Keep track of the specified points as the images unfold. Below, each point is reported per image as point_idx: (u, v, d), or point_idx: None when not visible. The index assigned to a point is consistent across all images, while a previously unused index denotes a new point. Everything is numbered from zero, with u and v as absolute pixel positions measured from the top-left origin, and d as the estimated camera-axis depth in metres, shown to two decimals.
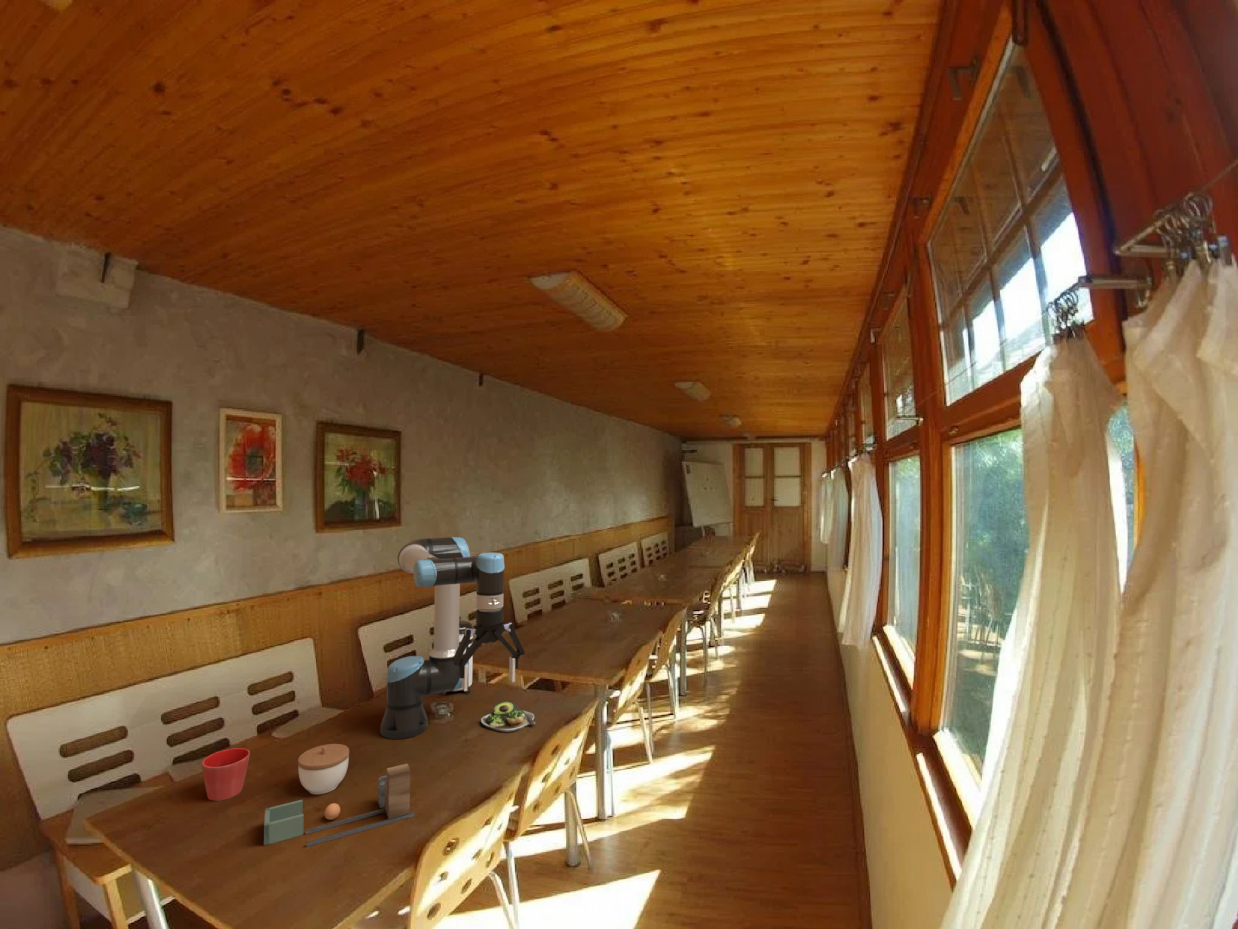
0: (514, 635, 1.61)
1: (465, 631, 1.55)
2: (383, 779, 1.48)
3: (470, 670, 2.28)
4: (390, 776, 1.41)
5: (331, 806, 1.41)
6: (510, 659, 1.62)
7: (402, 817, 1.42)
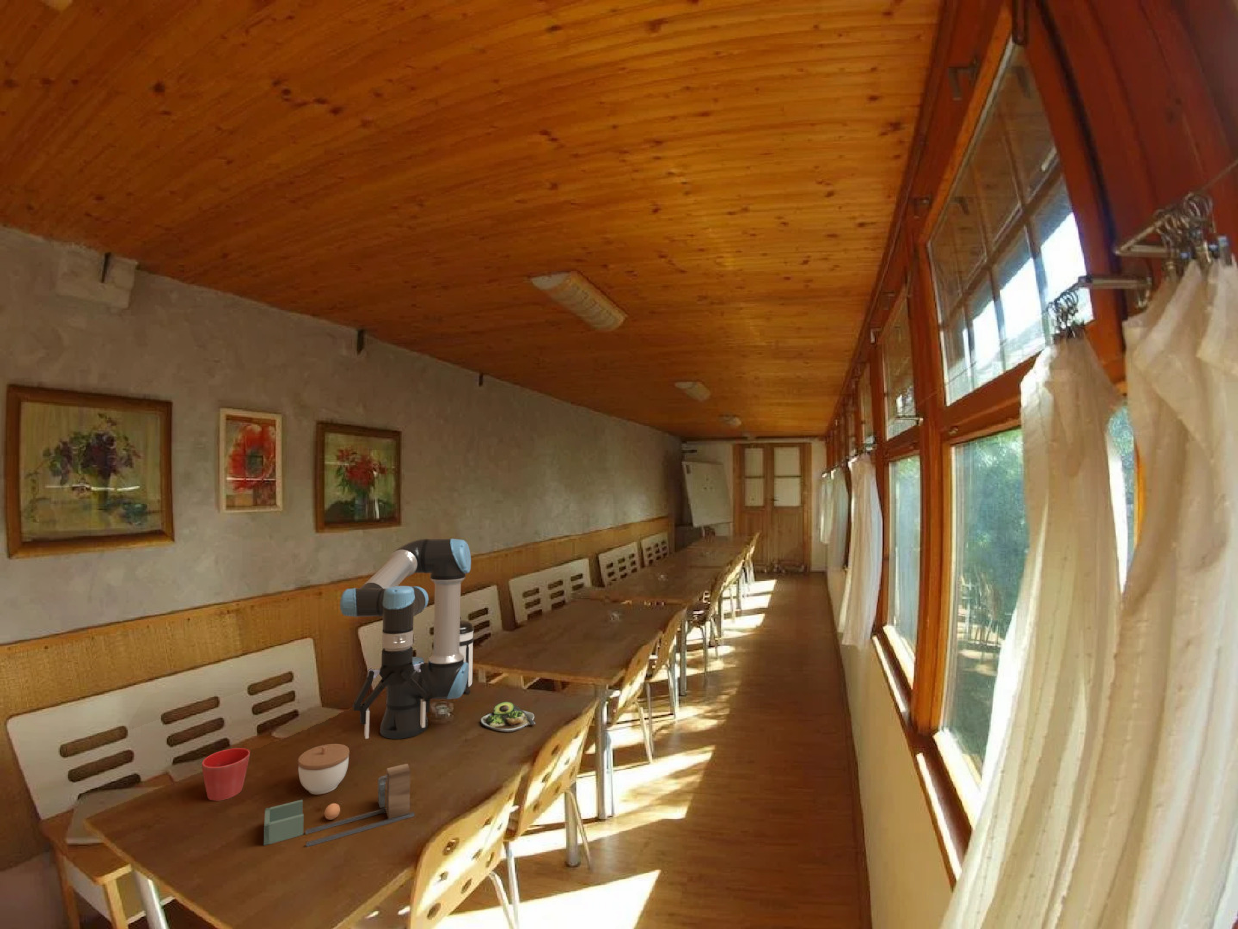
0: (425, 676, 1.49)
1: (368, 672, 1.43)
2: (383, 779, 1.48)
3: (470, 670, 2.28)
4: (390, 776, 1.41)
5: (331, 806, 1.41)
6: (421, 702, 1.50)
7: (402, 817, 1.42)
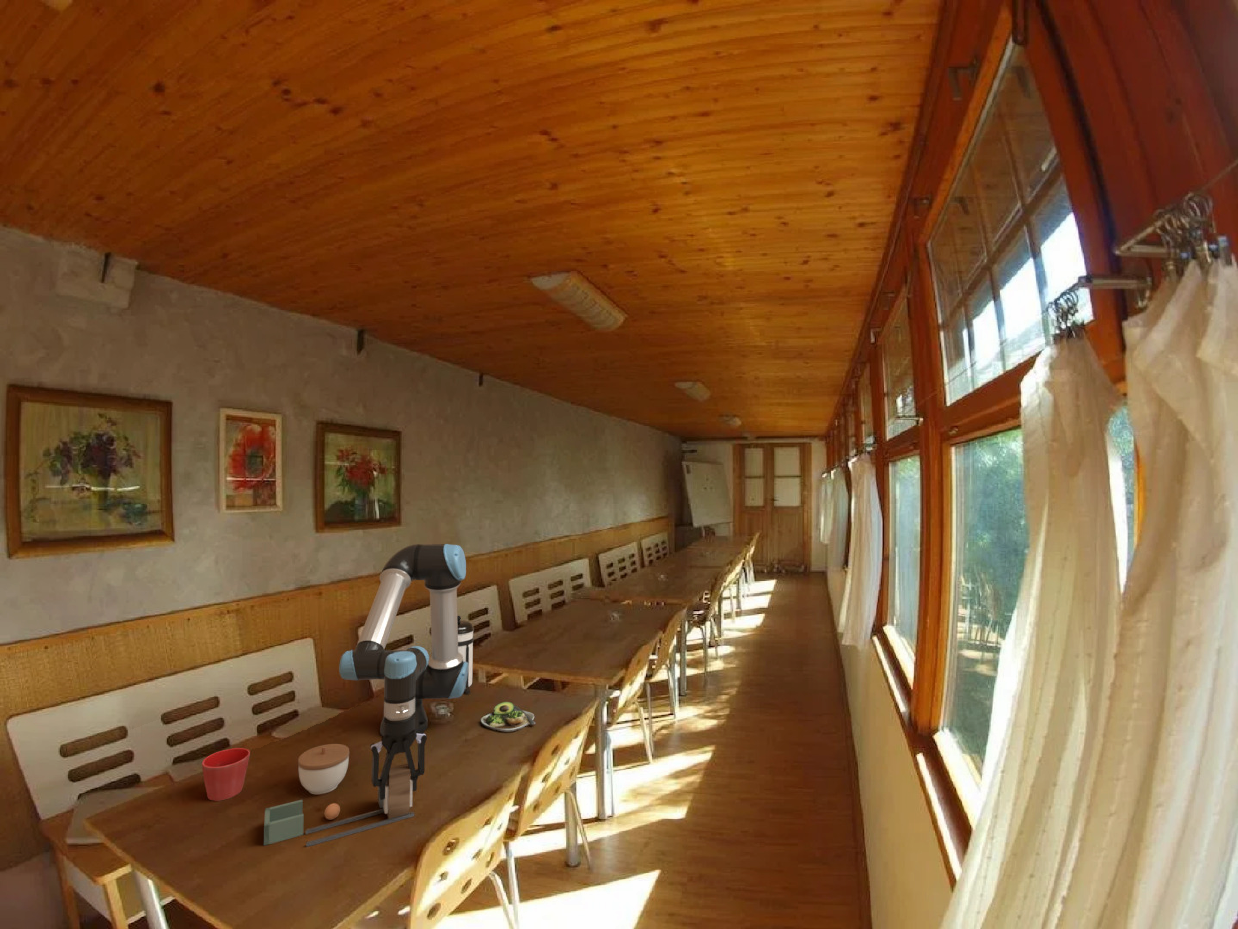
0: (422, 749, 1.46)
1: (371, 749, 1.41)
2: None
3: (470, 670, 2.28)
4: (390, 776, 1.41)
5: (331, 806, 1.41)
6: None
7: (402, 817, 1.42)
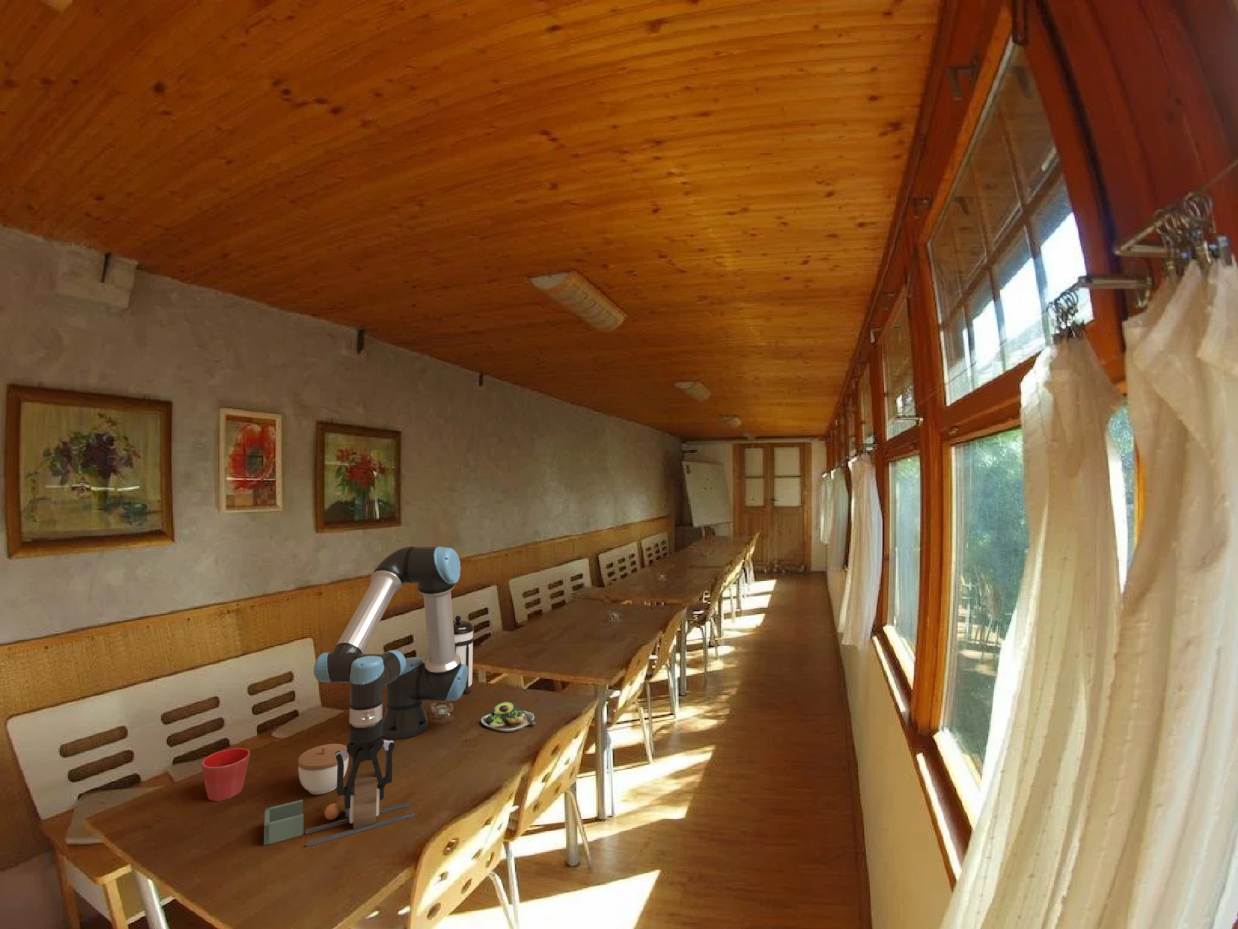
0: (389, 757, 1.42)
1: None
2: None
3: (470, 670, 2.28)
4: (355, 785, 1.37)
5: (331, 806, 1.41)
6: None
7: (402, 817, 1.42)
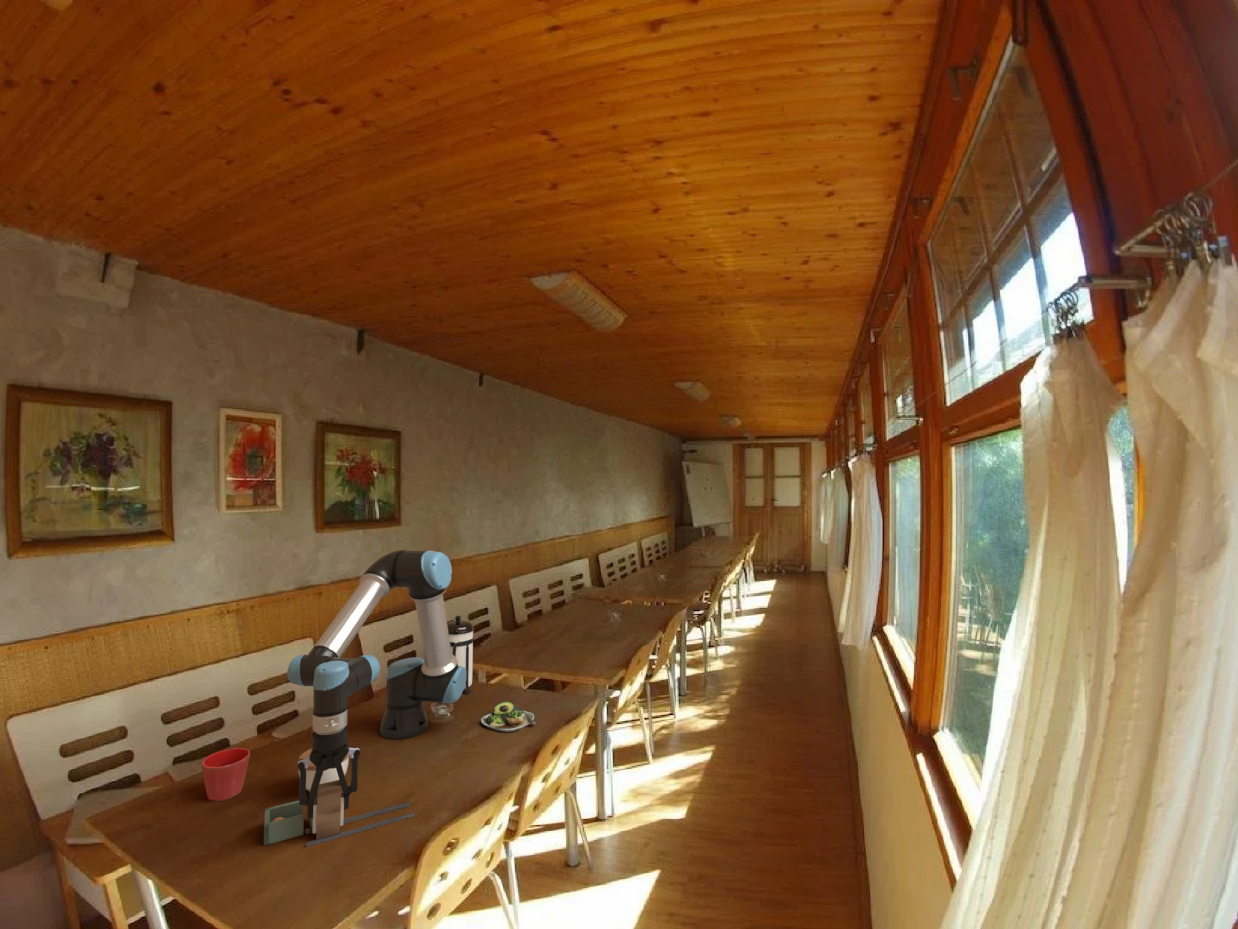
0: (354, 765, 1.38)
1: (298, 765, 1.33)
2: None
3: (470, 670, 2.28)
4: (318, 794, 1.33)
5: None
6: None
7: (402, 817, 1.42)
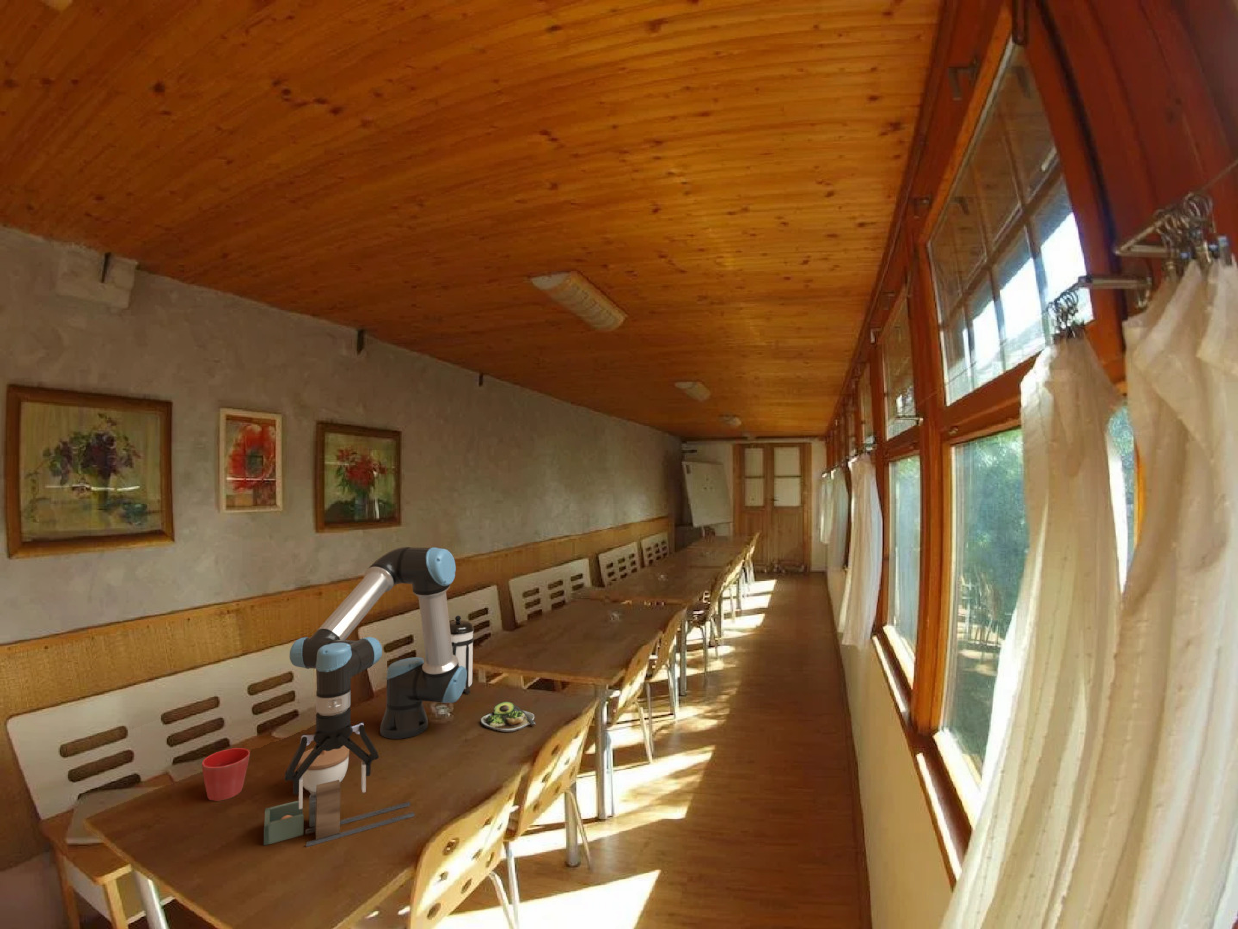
0: (364, 738, 1.39)
1: (301, 739, 1.33)
2: (314, 796, 1.39)
3: (470, 670, 2.28)
4: (318, 794, 1.33)
5: None
6: (361, 764, 1.41)
7: (402, 817, 1.42)
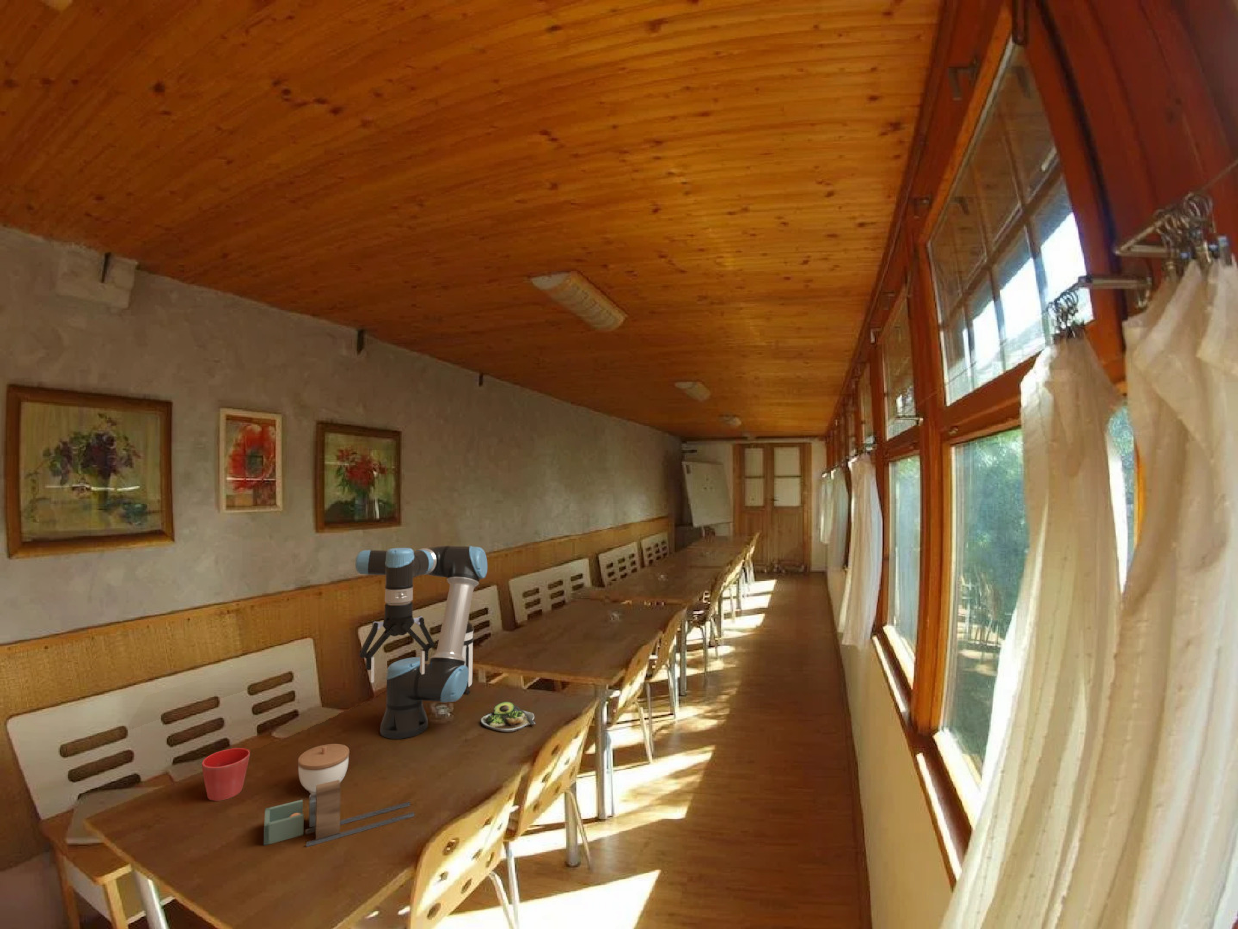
0: (424, 628, 1.65)
1: (372, 624, 1.59)
2: (314, 796, 1.39)
3: (470, 670, 2.28)
4: (318, 794, 1.33)
5: None
6: (420, 652, 1.66)
7: (402, 817, 1.42)
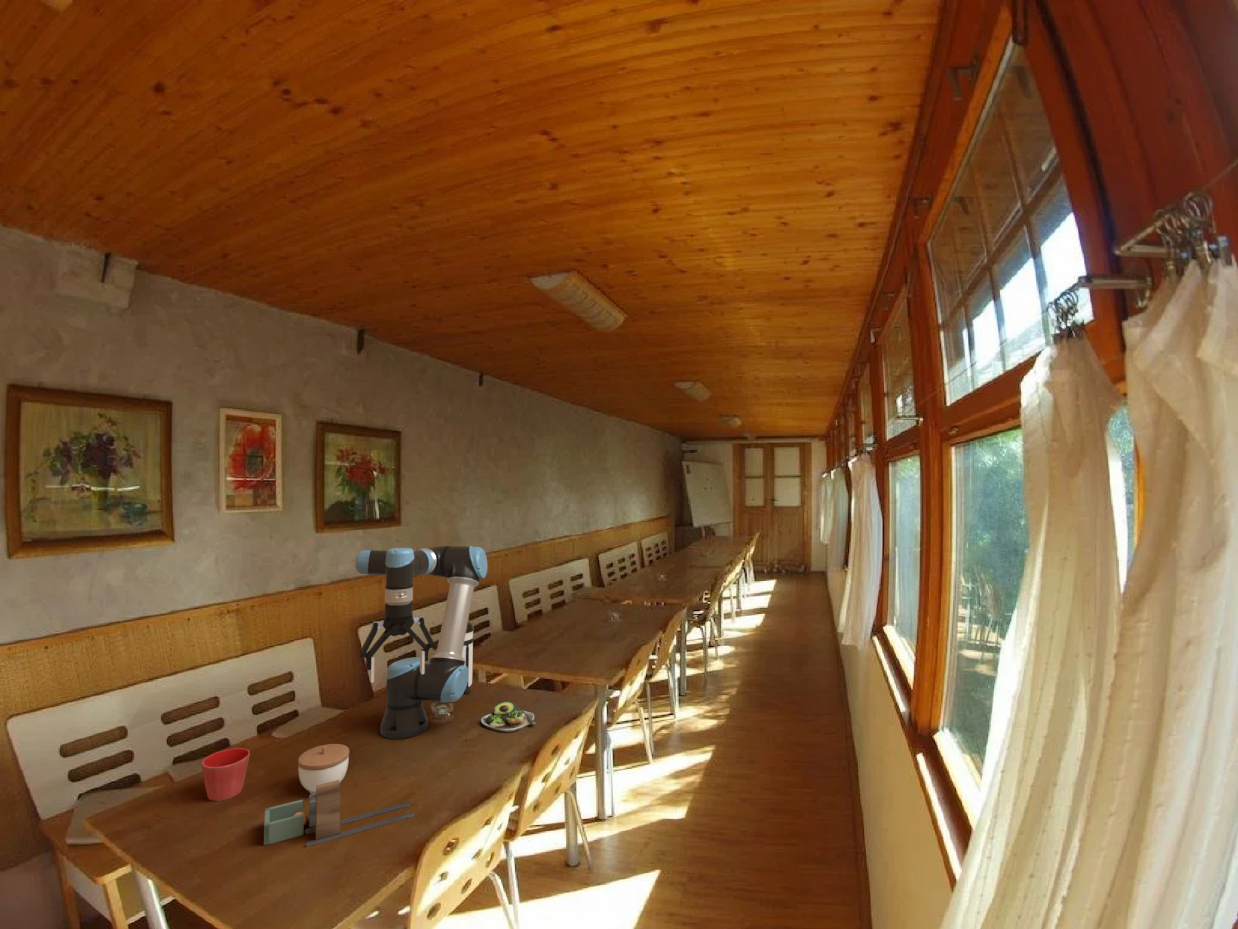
0: (424, 628, 1.65)
1: (372, 624, 1.59)
2: (314, 796, 1.39)
3: (470, 670, 2.28)
4: (318, 794, 1.33)
5: None
6: (420, 652, 1.66)
7: (402, 817, 1.42)
